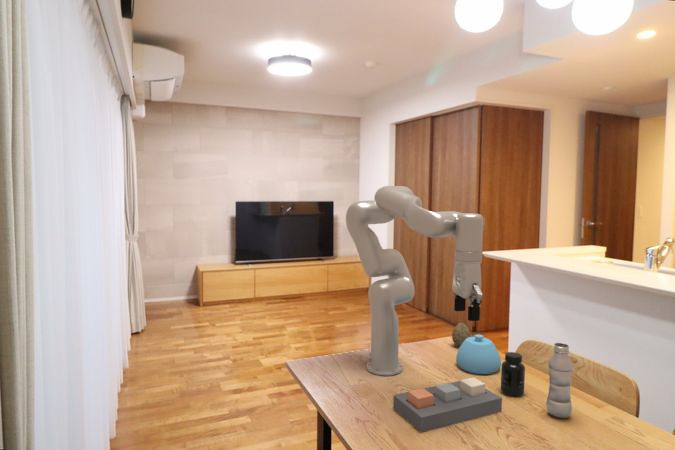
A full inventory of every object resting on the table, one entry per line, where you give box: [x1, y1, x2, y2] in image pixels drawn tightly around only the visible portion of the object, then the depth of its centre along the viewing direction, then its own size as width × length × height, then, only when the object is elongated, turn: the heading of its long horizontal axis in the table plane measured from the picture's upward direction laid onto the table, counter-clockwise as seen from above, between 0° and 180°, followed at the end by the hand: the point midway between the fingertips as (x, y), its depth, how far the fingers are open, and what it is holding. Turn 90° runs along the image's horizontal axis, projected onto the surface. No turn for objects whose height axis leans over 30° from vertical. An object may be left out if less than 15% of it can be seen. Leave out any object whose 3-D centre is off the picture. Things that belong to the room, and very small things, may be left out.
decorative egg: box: [451, 321, 472, 348], centre depth 180 cm, size 7×7×10 cm
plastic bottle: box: [545, 342, 574, 419], centre depth 125 cm, size 6×7×20 cm
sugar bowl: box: [455, 333, 502, 375], centre depth 160 cm, size 15×15×12 cm
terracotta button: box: [407, 387, 434, 409], centre depth 125 cm, size 5×5×4 cm
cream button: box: [459, 377, 486, 397], centre depth 132 cm, size 5×5×4 cm
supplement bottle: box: [500, 351, 526, 398], centre depth 140 cm, size 7×7×12 cm
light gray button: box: [434, 382, 460, 403], centre depth 129 cm, size 5×5×4 cm
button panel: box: [392, 380, 503, 433], centre depth 129 cm, size 14×27×4 cm, turn 114°
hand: (466, 315), depth 131 cm, fingers open, 9 cm apart
